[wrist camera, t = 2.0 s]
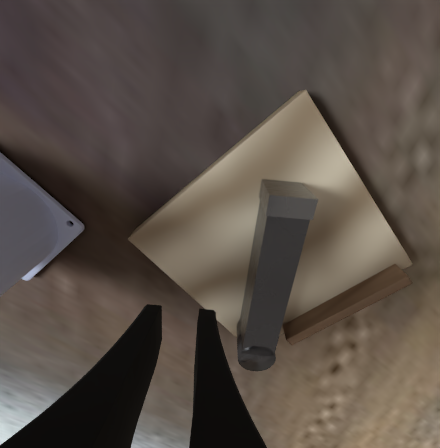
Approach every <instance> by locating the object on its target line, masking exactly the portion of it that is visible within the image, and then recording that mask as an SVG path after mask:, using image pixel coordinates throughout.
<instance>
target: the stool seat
mask: <svg viewBox="0 0 440 448" xmlns="http://www.w3.org/2000/svg"><path fill="white" fill-rule="evenodd" d="M262 179H267V180H278V181H288V182H299V183H302V184H303V185H304V186H305V187H306V188H307V189H308V190H309V191H310V192H311V193H312V194H313V195H314V196H315V197H316V198H317V199H318V203H317V206H316V210H315V214H314V217H313V220H310V222H309V226H308V230H307V234H306V237H305V241H304V245H303V249H302V252H301V256H300V260H299V264H298V267H297V271H296V275H295V279H294V282H293V286H292V290H291V293H290V297H289V301H288V305H287V308H286V312H285V316H284V320H283V323H282V327H281V331H280V335H282V334H284V333H285V337H286V340H287V341H288V342H289V343H290V344H291V345H293V344H295V343H297V342H299V341H301V340H303V339H305V338H307V337H309V336H311V335H313V334H315V333H317V332H319V331H321V330H323V329H324V328H326V327H328V326H330V325H332V324H334V323H336V322H338V321H340V320H342V319H344V318H346V317H348V316H350V315H352V314H354V313H356V312H358V311H360V310H361V309H363V308H365V307H367V306H369V305H371V304H373V303H375V302H377V301H379V300H381V299H383V298H385V297H387V296H389V295H391V294H393V293H395V292H397V291H398V290H400V289H402V288H404V287H406V286H408V285H410V284H412V281H411V280H410V278H409V277H408V275H407V274H405V273H404V272H403V271H402V270H404V269H405V268H407V267H409V266H411V265H413V264H412V262H411V260H410V259H409V257H408V256H407V254H406V252H405V251H404V249H403V247H402V246H401V244H400V243H399V241H398V239H397V238H396V236H395V234H394V233H393V231H392V229H391V228H390V226H389V225H388V223H387V221H386V220H385V218H384V216H383V215H382V213H381V212H380V210H379V208H378V207H377V205H376V203H375V202H374V200H373V198H372V197H371V195H370V194H369V192H368V190H367V189H366V187H365V185H364V184H363V182H362V181H361V179H360V177H359V176H358V174H357V172H356V171H355V169H354V167H353V166H352V164H351V163H350V161H349V159H348V158H347V156H346V154H345V153H344V151H343V150H342V148H341V146H340V145H339V143H338V141H337V140H336V138H335V137H334V135H333V133H332V132H331V130H330V128H329V127H328V125H327V123H326V122H325V120H324V119H323V117H322V115H321V114H320V112H319V110H318V109H317V107H316V106H315V104H314V102H313V101H312V99H311V97H310V96H309V94H308V92H307V91H306V90H303V91H298V92H297V93H296V94H295V95H294V96H293V97H291V98H290V99H289V100H288V101H287V102H285V103H284V104H283V105H282V106H281V107H280V108H278V109H277V110H276V111H275V112H274V113H272V114H271V115H270V116H269V117H268V118H266V119H265V120H264V121H263V122H262V123H261V124H259V125H258V126H257V127H256V128H255V129H253V130H252V131H251V132H250V133H249V134H247V135H246V136H245V137H244V138H243V139H242V140H240V141H239V142H238V143H237V144H236V145H234V146H233V147H232V148H231V149H230V150H229V151H227V152H226V153H225V154H224V155H223V156H221V157H220V158H219V159H218V160H217V161H215V162H214V163H213V164H212V165H211V166H210V167H208V168H207V169H206V170H205V171H204V172H202V173H201V174H200V175H199V176H198V177H196V178H195V179H194V180H193V181H192V182H191V183H189V184H188V185H187V186H186V187H185V188H183V189H182V190H181V191H180V192H179V193H178V194H176V195H175V196H174V197H173V198H172V199H170V200H169V201H168V202H167V203H166V204H164V205H163V206H162V207H161V208H160V209H159V210H157V211H156V212H155V213H154V214H153V215H151V216H150V217H149V218H148V219H147V220H145V221H144V222H143V223H142V224H141V225H140V226H138V227H137V228H136V229H135V230H134V231H133V232H132V234H131V235H130V236H129V238H128V240H129V241H130V242H131V243H132V244H134V245H135V246H136V247H137V248H138V249H139V250H140V251H141V252H142V253H144V254H145V255H146V256H147V257H148V258H149V259H150V260H151V261H152V262H153V263H155V264H156V265H157V266H158V267H159V268H160V269H161V270H162V271H163V272H165V273H166V274H167V275H168V276H169V277H170V278H171V279H172V280H173V281H175V282H176V283H177V284H178V285H179V286H180V287H181V288H182V289H183V290H184V291H186V292H187V293H188V294H189V295H190V296H191V297H192V298H193V299H194V300H196V301H197V302H198V303H199V304H200V305H201V306H202V307H203V308H204V309H208V310H214V311H215V312H216V319H217V320H218V321H219V322H220V323H221V324H222V325H223V326H224V327H225V328H227V329H228V330H229V331H230V332H231V333H232V334H233V335H234V336H235V337H237V329H236V326H237V323H238V321H239V320H240V316H241V310H242V304H243V298H244V292H245V286H246V280H247V274H248V268H249V262H250V256H251V251H252V245H253V239H254V233H255V227H256V221H257V215H258V209H259V203H260V199H259V192H260V186H261V180H262ZM280 335H279V336H280Z"/></svg>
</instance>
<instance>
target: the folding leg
mask: <svg viewBox="0 0 440 448" xmlns="http://www.w3.org/2000/svg"><path fill="white" fill-rule="evenodd" d="M259 199H260V203H259V209H258V215H257V221H256V227H255V233H254V239H253V245H252V251H251V256H250V262H249V268H248V274H247V280H246V286H245V292H244V298H243V304H242V310H241V316H240V320H239V321H238V323H237V326H236V329H237V349H238V362H239V364H240V365H241V366H242V367H243V368H245V369H247V370H250V371H262V370H266V369H268V368H270V367H271V366H272V365H273V364H274V362H275V359H276V357H275V350H276V346H277V342H278V338H279V335H280V331H281V327H282V323H283V320H284V316H285V312H286V308H287V305H288V301H289V297H290V293H291V290H292V286H293V282H294V279H295V275H296V271H297V267H298V264H299V260H300V256H301V252H302V249H303V245H304V241H305V237H306V234H307V230H308V226H309V222H310V220H313V217H314V214H315V210H316V206H317V203H318V199H317V198H316V197H315V196H314V195H313V194H312V193H311V192H310V191H309V190H308V189H307V188H306V187H305V186H304V185H303V184H302V183H299V182H288V181H278V180H267V179H262V180H261V186H260V192H259Z"/></svg>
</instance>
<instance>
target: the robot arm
mask: <svg viewBox="0 0 440 448" xmlns="http://www.w3.org/2000/svg"><path fill="white" fill-rule="evenodd" d="M70 221H72V222H73V224H74V225H72V224H71V223H70ZM83 230H84V225H83V223H82V222H81V221H79V220H78V219H77V218H76V217H75V216H74V215H72V214H71V213H70V212H69V211H68V210H67V209H65V208H64V207H63V206H62V205H61V204H60V203H59V202H57V201H56V200H55V199H54V198H53V197H52V196H50V195H49V194H48V193H47V192H46V191H45V190H44V189H42V188H41V187H40V186H39V185H38V184H37V183H35V182H34V181H33V180H32V179H31V178H30V177H28V176H27V175H26V174H25V173H24V172H23V171H22V170H20V169H19V168H18V167H17V166H16V165H15V164H13V163H12V162H11V161H10V160H9V159H8V158H7V157H5V156H4V155H3V154H2V153H1V152H0V296H1V295H2V294H4V293H5V292H6V291H7V290H8V289H10V288H11V287H12V286H13V285H14V284H15V283H17V282H18V281H19V280H20V279H23V280H30V279H31V278H33V277H34V276H35V275H36V274H37V273H38V272H39V271H40V270H41V269H42V268H43V267H45V266H46V265H47V264H48V263H49V262H50V261H51V260H52V259H53V258H54V257H55V256H56V255H58V254H59V253H60V252H61V251H62V250H63V249H64V248H65V247H66V246H67V245H68V244H70V243H71V242H72V241H73V240H74V239H75V238H76V237H77V236H78V235H79V234H80V233H81V232H83ZM161 341H162V306H160V305H148V304H147V305H146V306H145V307H144V308H143V310H142V311H141V312H140V314H139V315H138V316H137V318H136V319H135V320H134V322H133V323H132V324H131V325H130V327H129V328H128V329H127V330H126V331H125V333H124V334H123V335H122V336H121V337H120V338H119V340H118V341H117V342H116V343H115V344H114V345H113V347H112V348H111V349H110V350H109V351H108V352H107V353H106V354H105V355H104V356H103V357H102V358H101V359H100V360H99V361H98V363H97V364H96V365H95V366H94V367H93V368H92V369H91V370H90V371H89V372H88V373H87V374H86V375H84V376H83V377H82V378H81V379H80V380H79V381H78V382H77V383H76V384H75V385H74V386H73V387H72V388H71V389H69V390H68V391H67V392H66V393H65V394H64V395H63V396H61V397H60V398H59V399H58V400H57V401H56V402H55V403H53V404H52V405H51V406H50V407H49V408H47V409H46V410H45V411H44V412H43V413H41V414H40V415H39V416H38V417H36V418H35V419H34V420H33V421H31V422H30V423H29V424H27V425H26V426H25V427H23V428H22V429H21V430H20V431H18V432H17V433H16V434H14V435H13V436H12V437H11V438H9V439H8V440H7V441H5V442H4V443H3V444H1V445H0V448H131V444H132V439H133V435H134V432H135V429H136V425H137V422H138V419H139V416H140V413H141V410H142V406H143V403H144V400H145V397H146V394H147V391H148V388H149V385H150V382H151V379H152V376H153V373H154V370H155V367H156V363H157V359H158V355H159V350H160V345H161ZM189 448H267V447H266V445H265V443H264V441H263V439H262V437H261V436H260V434H259V432H258V430H257V428H256V426H255V424H254V423H253V421H252V419H251V417H250V415H249V412H248V410H247V408H246V406H245V404H244V402H243V400H242V397H241V395H240V393H239V391H238V388H237V386H236V384H235V381H234V379H233V376H232V373H231V371H230V368H229V365H228V362H227V359H226V356H225V353H224V350H223V346H222V343H221V339H220V335H219V331H218V326H217V321H216V312H215V311H214V310H208V309H199V316H198V323H197V337H196V351H195V365H194V397H193V419H192V428H191V437H190V446H189Z"/></svg>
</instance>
